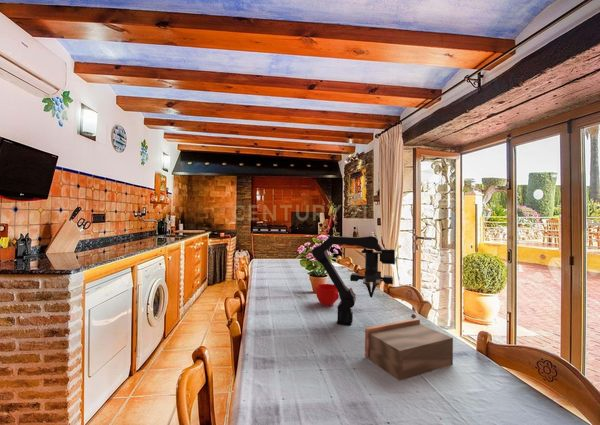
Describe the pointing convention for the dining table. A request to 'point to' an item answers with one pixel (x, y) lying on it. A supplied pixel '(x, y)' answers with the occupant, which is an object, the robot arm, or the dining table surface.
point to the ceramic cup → (327, 294)
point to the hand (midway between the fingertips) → (371, 297)
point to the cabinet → (411, 350)
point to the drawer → (384, 328)
